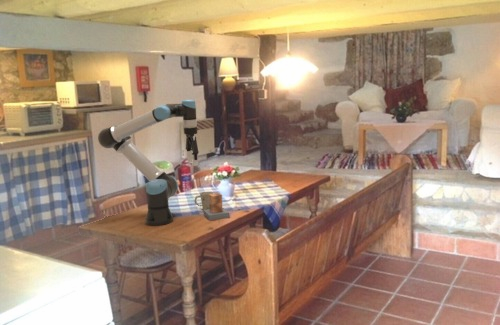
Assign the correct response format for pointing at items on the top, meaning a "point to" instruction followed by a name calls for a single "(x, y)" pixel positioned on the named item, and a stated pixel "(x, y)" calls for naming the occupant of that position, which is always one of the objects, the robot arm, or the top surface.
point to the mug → (204, 200)
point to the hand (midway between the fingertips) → (192, 163)
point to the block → (215, 202)
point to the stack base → (216, 215)
